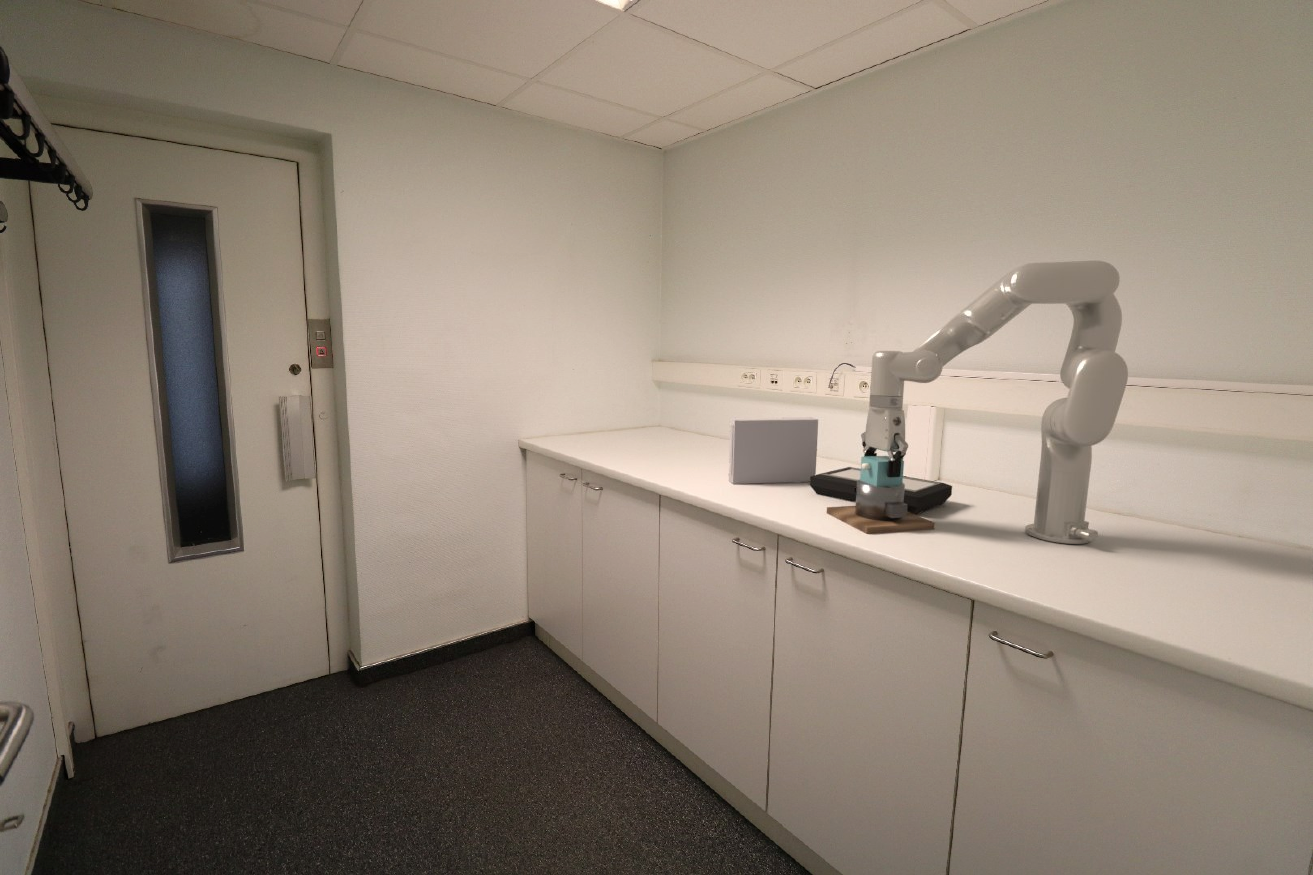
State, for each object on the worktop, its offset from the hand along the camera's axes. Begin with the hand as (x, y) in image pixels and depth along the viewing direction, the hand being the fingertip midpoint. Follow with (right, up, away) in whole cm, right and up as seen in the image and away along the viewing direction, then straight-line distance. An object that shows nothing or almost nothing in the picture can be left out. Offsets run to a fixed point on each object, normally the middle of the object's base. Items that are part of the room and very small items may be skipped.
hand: (881, 472), depth 150 cm
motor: (0, -11, 0) cm, 11 cm away
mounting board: (0, -12, +2) cm, 12 cm away
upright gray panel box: (-18, -5, +45) cm, 49 cm away
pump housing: (0, -3, 0) cm, 2 cm away
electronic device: (+8, -9, +24) cm, 26 cm away
